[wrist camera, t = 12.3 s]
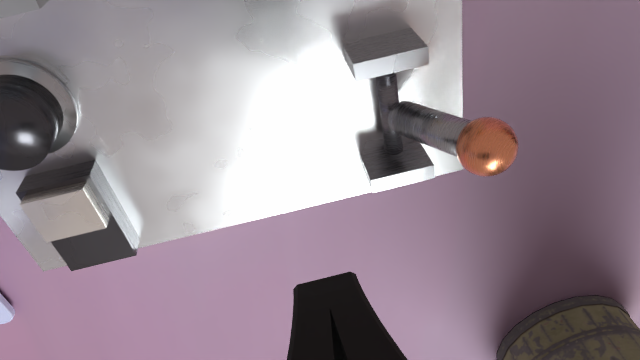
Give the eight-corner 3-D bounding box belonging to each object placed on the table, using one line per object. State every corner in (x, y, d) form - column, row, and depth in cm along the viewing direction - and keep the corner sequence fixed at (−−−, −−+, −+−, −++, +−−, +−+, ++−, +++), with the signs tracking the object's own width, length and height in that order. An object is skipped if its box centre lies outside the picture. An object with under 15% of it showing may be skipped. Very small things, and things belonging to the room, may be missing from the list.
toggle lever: (370, 158, 18) (494, 213, 15) (359, 80, 16) (498, 124, 13) (402, 135, 19) (526, 183, 16) (395, 59, 17) (534, 94, 14)
